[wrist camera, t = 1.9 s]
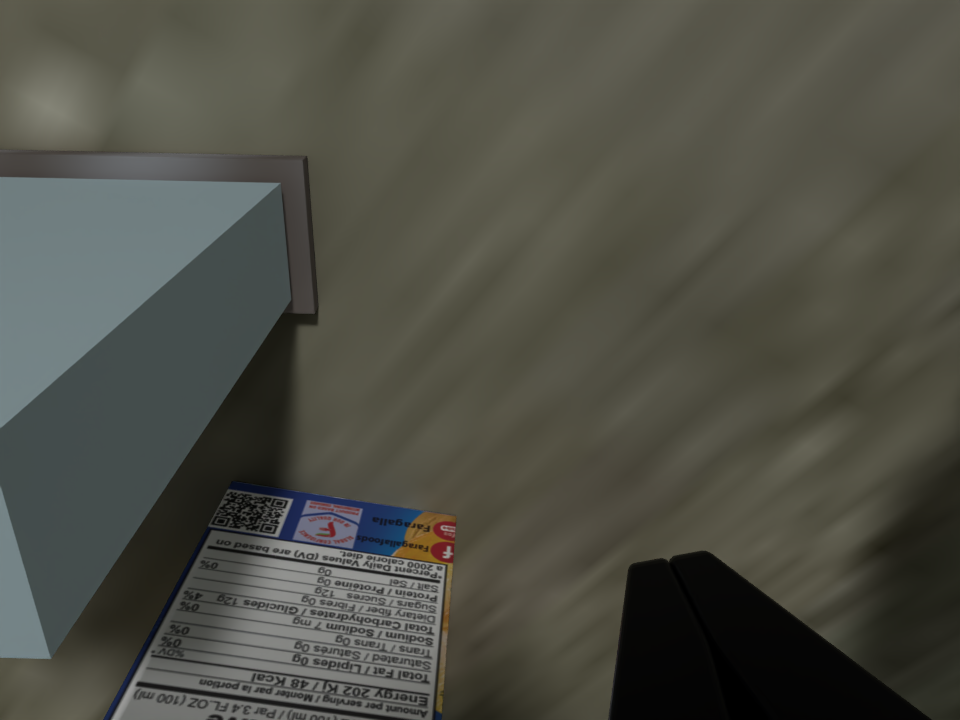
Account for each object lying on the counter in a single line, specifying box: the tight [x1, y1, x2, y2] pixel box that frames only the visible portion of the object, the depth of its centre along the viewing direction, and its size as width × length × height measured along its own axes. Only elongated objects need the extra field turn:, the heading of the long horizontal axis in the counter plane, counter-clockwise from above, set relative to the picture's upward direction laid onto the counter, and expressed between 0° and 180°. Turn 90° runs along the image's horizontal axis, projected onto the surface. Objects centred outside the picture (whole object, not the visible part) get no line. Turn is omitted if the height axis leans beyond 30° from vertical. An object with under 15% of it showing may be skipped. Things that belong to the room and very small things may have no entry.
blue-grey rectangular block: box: [0, 177, 291, 659], centre depth 14 cm, size 7×3×12 cm, turn 89°
